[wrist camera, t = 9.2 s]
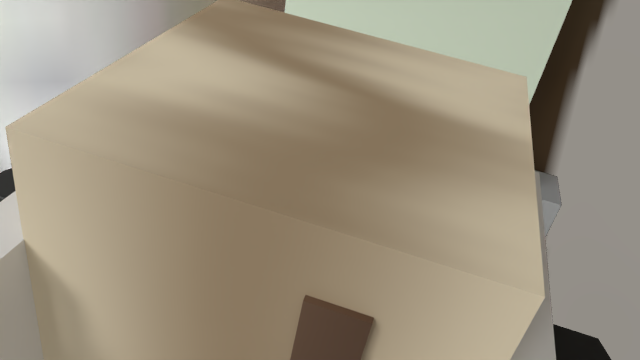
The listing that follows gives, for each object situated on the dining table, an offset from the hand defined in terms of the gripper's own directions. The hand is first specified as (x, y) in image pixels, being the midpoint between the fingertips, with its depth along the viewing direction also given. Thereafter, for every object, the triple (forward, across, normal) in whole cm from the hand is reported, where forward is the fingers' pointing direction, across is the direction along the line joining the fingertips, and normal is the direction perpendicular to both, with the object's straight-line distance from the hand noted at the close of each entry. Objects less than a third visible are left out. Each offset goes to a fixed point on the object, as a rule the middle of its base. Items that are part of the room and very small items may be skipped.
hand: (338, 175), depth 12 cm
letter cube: (0, 0, 0) cm, 0 cm away
